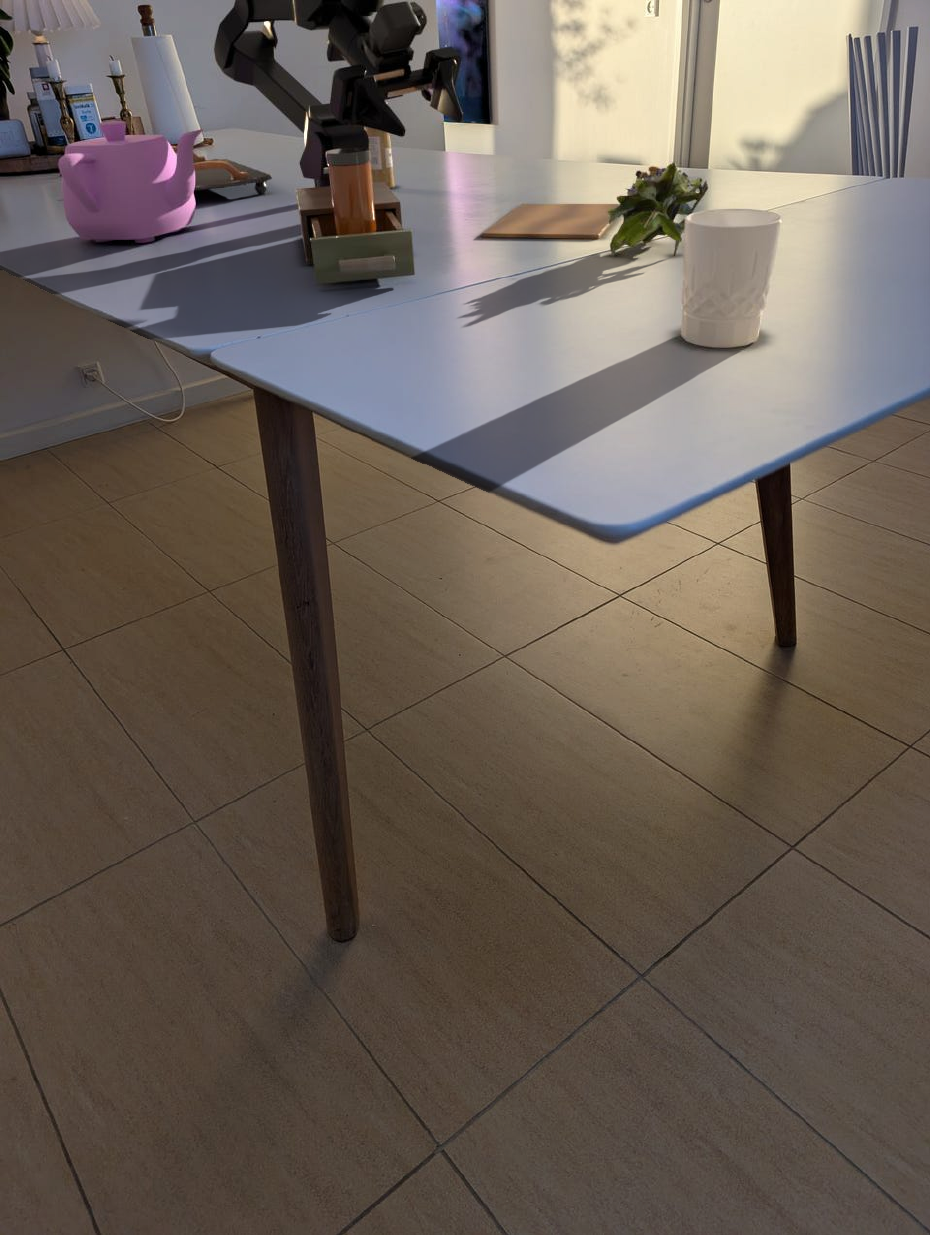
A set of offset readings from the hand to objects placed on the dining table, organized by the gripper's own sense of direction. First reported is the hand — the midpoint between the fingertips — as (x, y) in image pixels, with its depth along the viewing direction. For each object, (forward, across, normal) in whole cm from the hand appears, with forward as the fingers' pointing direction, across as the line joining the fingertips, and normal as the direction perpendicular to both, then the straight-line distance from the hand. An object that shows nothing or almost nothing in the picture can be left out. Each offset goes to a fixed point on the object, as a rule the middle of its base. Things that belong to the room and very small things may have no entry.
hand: (433, 126), depth 113 cm
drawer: (+14, -19, +5) cm, 24 cm away
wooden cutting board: (+12, +17, +10) cm, 23 cm away
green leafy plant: (+31, +12, -2) cm, 33 cm away
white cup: (+53, -10, -19) cm, 57 cm away
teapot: (-26, -28, +31) cm, 49 cm away
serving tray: (-56, -4, +52) cm, 76 cm away
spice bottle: (+12, -18, +5) cm, 22 cm away
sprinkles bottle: (-29, +19, +37) cm, 50 cm away
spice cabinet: (+2, -12, +14) cm, 18 cm away
